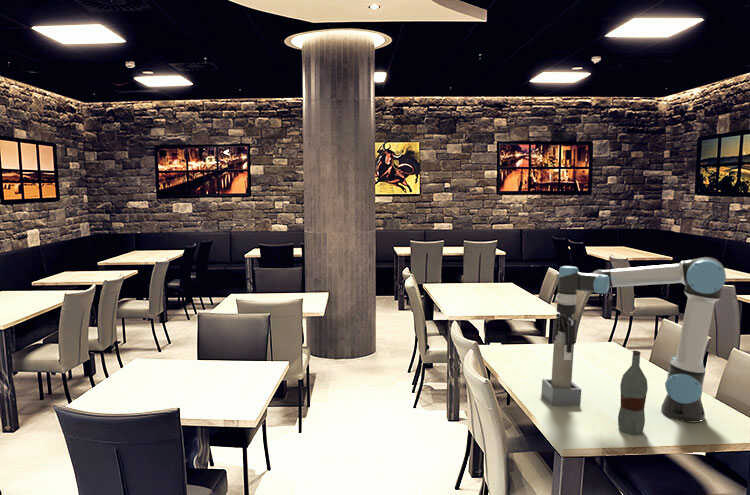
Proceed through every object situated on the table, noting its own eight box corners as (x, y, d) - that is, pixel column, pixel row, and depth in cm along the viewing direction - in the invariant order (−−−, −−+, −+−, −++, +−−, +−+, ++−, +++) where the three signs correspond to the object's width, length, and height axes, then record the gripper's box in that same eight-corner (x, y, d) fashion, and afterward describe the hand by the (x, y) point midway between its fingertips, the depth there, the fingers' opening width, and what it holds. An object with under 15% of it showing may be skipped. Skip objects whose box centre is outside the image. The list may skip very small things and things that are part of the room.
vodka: (616, 423, 208) (622, 346, 205) (643, 427, 205) (649, 349, 202) (617, 432, 199) (623, 353, 196) (645, 437, 196) (651, 356, 193)
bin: (580, 405, 224) (581, 389, 224) (551, 405, 224) (552, 389, 223) (568, 395, 236) (569, 379, 236) (541, 394, 236) (542, 379, 235)
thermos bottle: (548, 390, 234) (551, 326, 231) (566, 390, 234) (570, 326, 231) (554, 397, 226) (558, 331, 223) (573, 397, 226) (577, 331, 223)
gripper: (548, 298, 236) (545, 349, 238) (567, 308, 215) (564, 364, 217) (565, 298, 236) (561, 349, 239) (586, 308, 216) (582, 364, 218)
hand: (563, 356), depth 228 cm, fingers closed on thermos bottle, 8 cm apart
